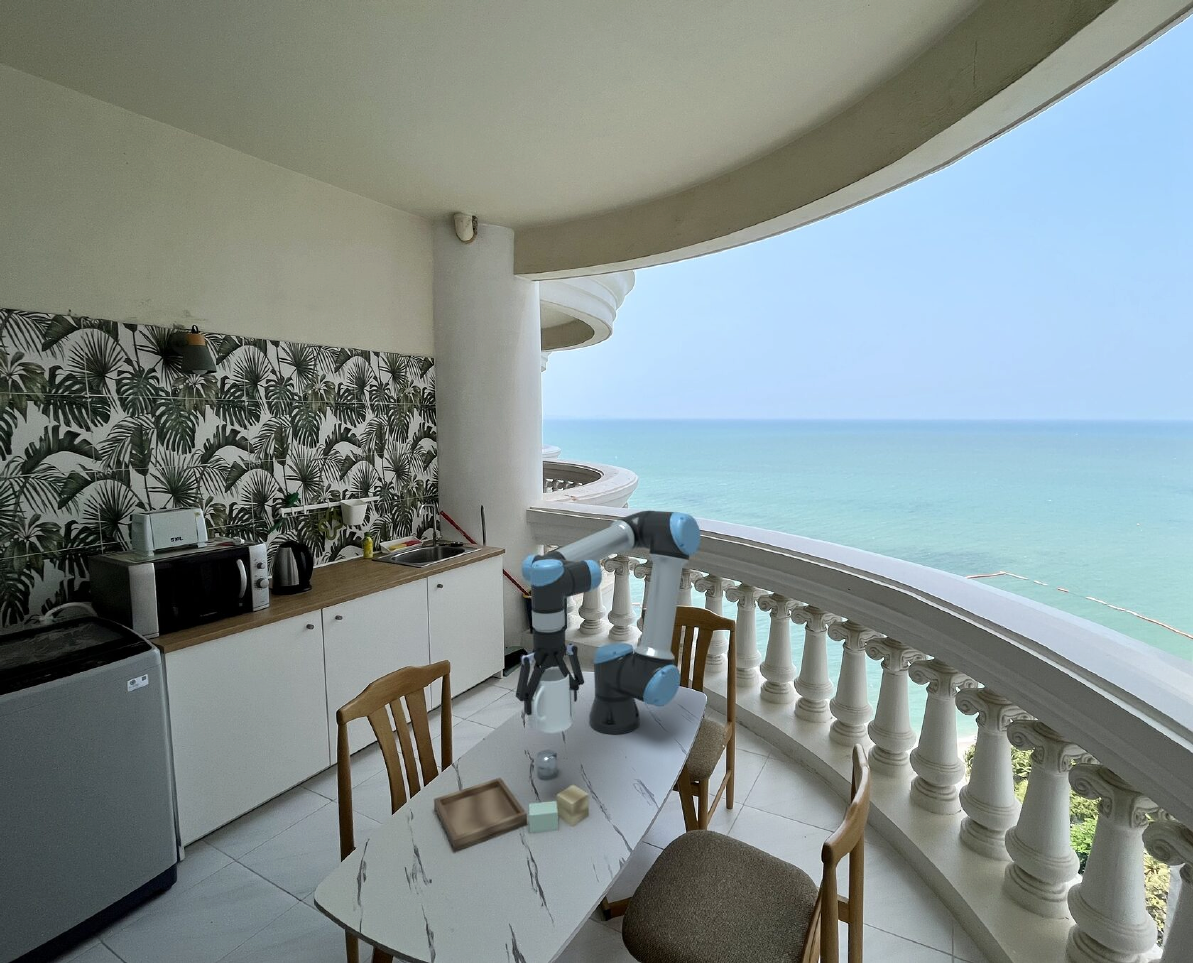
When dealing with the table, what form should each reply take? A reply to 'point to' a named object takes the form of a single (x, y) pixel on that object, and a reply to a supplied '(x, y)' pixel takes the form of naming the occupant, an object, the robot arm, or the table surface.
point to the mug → (552, 702)
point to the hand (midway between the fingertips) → (551, 721)
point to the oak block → (572, 805)
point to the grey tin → (546, 765)
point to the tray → (479, 813)
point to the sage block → (543, 817)
